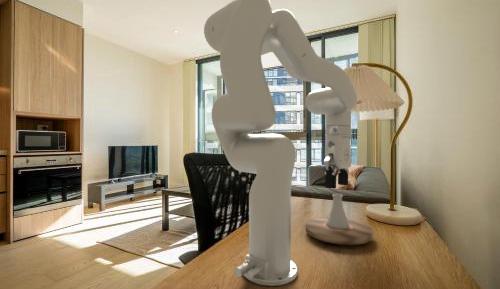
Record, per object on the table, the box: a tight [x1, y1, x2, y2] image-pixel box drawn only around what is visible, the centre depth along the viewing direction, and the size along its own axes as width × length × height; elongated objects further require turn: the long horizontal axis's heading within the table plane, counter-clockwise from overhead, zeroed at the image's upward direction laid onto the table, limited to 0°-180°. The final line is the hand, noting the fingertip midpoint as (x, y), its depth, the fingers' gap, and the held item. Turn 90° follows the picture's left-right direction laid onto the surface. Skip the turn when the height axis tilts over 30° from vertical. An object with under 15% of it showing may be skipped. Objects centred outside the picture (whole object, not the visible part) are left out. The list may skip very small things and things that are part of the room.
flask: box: [326, 193, 349, 229], centre depth 80 cm, size 7×7×10 cm
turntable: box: [304, 216, 374, 246], centre depth 80 cm, size 20×20×2 cm
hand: (337, 186), depth 80 cm, fingers open, 9 cm apart
